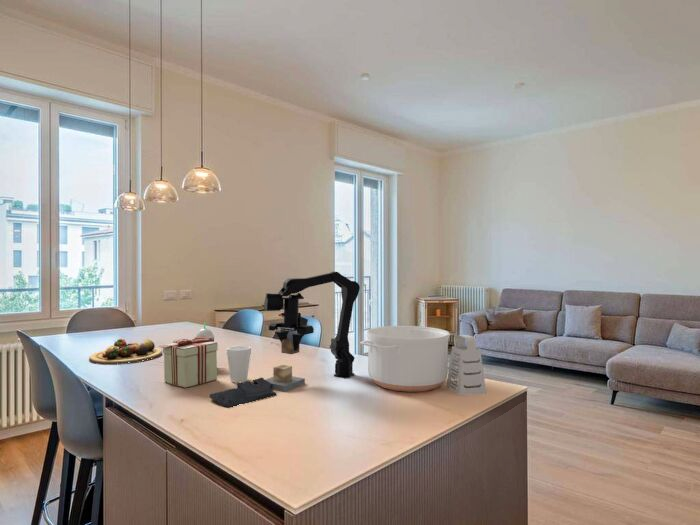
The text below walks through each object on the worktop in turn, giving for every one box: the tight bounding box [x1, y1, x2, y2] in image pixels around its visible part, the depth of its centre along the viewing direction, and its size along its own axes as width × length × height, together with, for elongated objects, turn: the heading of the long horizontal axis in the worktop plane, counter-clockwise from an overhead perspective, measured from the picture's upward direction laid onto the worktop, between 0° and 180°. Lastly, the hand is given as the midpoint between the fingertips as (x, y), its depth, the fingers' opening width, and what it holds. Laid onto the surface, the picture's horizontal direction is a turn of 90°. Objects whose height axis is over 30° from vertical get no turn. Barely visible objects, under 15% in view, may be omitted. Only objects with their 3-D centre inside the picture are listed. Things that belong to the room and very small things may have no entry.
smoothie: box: [194, 322, 215, 342], centre depth 193 cm, size 8×8×20 cm
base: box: [265, 375, 306, 393], centre depth 166 cm, size 12×12×2 cm
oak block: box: [272, 364, 293, 382], centre depth 166 cm, size 5×5×5 cm
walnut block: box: [280, 337, 301, 355], centre depth 171 cm, size 5×5×5 cm
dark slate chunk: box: [209, 377, 277, 408], centre depth 152 cm, size 15×22×5 cm
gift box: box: [158, 336, 219, 389], centre depth 171 cm, size 17×18×17 cm
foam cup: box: [226, 345, 252, 383], centre depth 172 cm, size 10×9×13 cm
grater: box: [445, 334, 487, 396], centre depth 160 cm, size 10×10×20 cm
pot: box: [359, 325, 451, 393], centre depth 169 cm, size 42×32×20 cm
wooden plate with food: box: [88, 338, 163, 365], centre depth 214 cm, size 32×32×8 cm
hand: (290, 349), depth 171 cm, fingers closed on walnut block, 5 cm apart
